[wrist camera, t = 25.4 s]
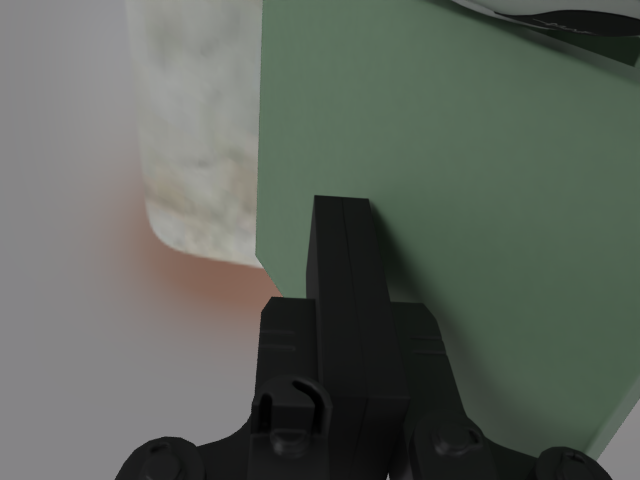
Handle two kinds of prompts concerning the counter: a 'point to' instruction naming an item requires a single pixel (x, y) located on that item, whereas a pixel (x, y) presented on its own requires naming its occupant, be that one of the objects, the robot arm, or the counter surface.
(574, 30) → the kettle
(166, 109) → the counter surface
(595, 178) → the lid
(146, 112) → the counter surface
